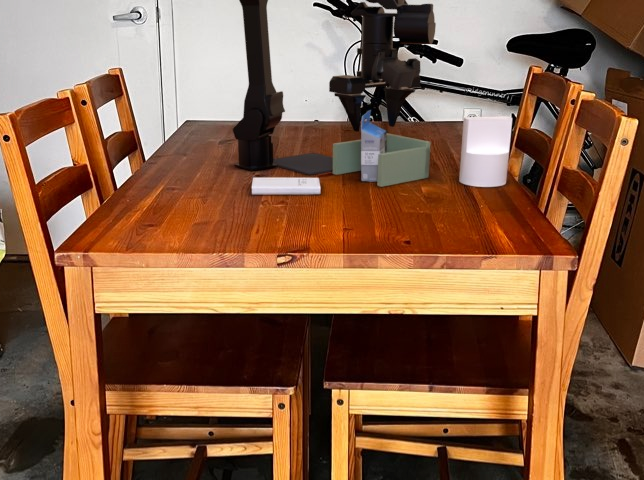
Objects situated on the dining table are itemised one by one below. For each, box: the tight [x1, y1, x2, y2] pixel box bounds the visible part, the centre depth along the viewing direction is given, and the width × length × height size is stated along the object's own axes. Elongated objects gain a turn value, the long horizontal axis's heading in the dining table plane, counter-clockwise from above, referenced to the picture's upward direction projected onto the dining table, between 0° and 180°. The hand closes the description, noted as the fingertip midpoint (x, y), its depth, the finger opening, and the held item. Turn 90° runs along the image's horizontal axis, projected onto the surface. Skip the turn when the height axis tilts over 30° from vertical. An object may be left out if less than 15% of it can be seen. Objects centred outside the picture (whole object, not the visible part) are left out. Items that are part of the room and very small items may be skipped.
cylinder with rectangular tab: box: [458, 115, 513, 188], centre depth 155 cm, size 9×9×12 cm
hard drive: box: [251, 177, 322, 196], centre depth 151 cm, size 2×8×12 cm
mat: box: [272, 152, 333, 176], centre depth 172 cm, size 14×16×1 cm
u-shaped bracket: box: [332, 132, 432, 188], centre depth 161 cm, size 13×14×7 cm
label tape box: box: [360, 109, 388, 183], centre depth 159 cm, size 9×4×12 cm, turn 167°
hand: (374, 128), depth 157 cm, fingers open, 9 cm apart
